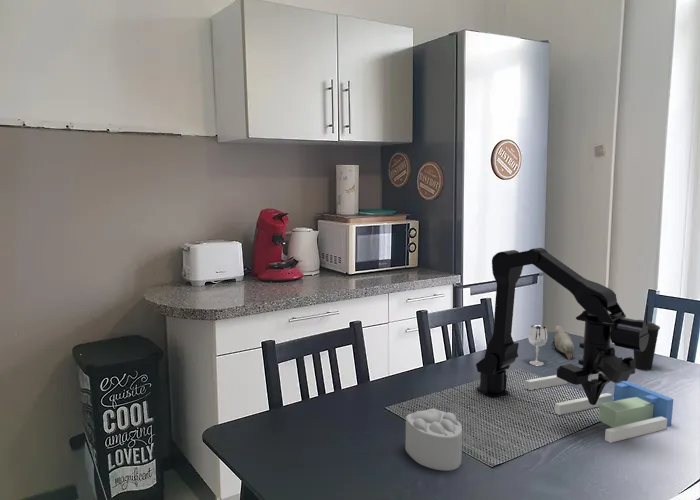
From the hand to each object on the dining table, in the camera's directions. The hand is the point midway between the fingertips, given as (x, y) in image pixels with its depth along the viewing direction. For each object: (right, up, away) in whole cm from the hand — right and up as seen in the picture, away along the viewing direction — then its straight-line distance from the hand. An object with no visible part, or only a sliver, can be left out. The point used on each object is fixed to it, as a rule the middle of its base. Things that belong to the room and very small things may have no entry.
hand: (592, 404), depth 130 cm
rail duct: (+4, -4, +11) cm, 12 cm away
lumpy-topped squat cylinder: (-40, -7, -14) cm, 43 cm away
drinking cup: (+34, 0, +40) cm, 53 cm away
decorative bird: (+15, +2, +56) cm, 58 cm away
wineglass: (+2, 0, +44) cm, 44 cm away
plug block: (+9, -5, +3) cm, 11 cm away
